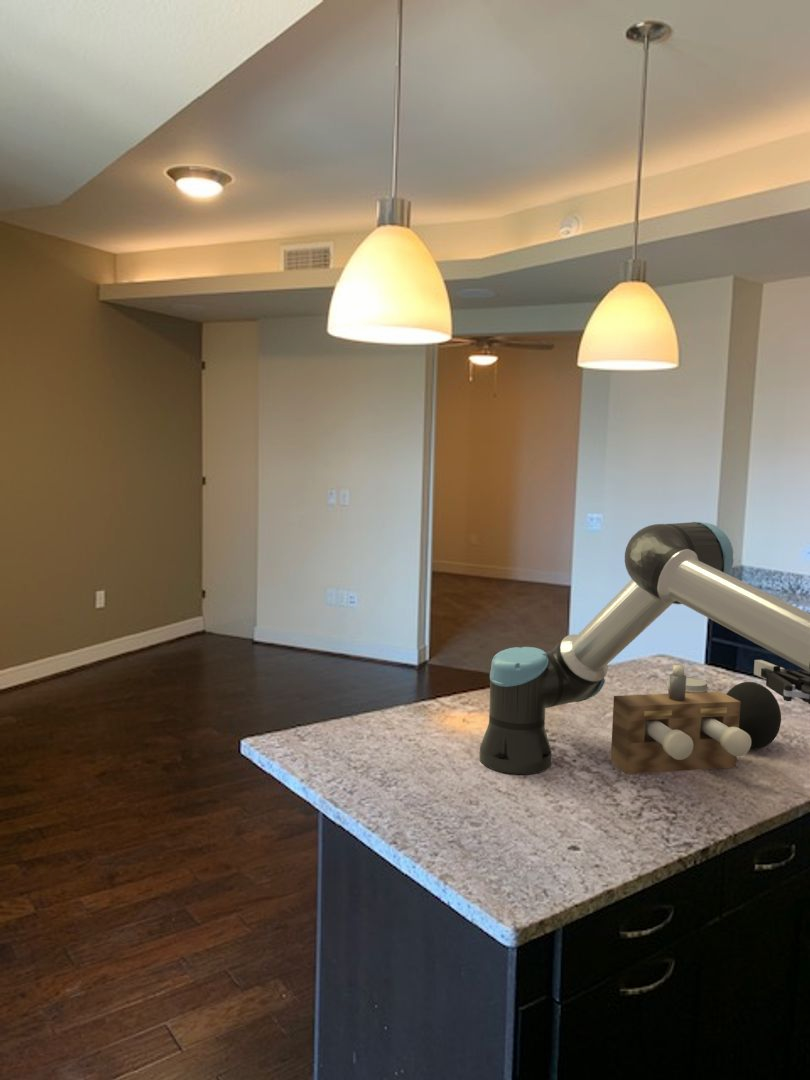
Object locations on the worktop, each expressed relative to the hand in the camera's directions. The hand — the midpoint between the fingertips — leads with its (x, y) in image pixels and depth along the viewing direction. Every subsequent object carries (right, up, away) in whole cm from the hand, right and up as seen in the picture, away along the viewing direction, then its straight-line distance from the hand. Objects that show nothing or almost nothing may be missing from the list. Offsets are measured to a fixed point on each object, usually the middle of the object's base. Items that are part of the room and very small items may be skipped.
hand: (757, 667), depth 146 cm
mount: (-10, -24, +18) cm, 31 cm away
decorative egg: (+11, -23, +29) cm, 39 cm away
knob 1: (-15, -18, +12) cm, 26 cm away
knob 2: (-2, -18, +14) cm, 23 cm away
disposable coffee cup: (+1, -22, +40) cm, 46 cm away
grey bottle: (-9, -9, +17) cm, 21 cm away
